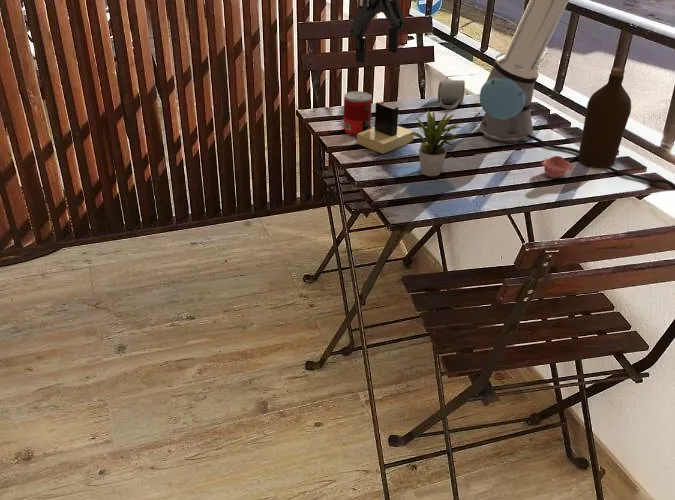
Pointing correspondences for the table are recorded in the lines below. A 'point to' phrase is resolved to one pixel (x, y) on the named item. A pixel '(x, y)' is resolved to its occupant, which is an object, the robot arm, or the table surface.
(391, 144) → the tan box
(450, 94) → the ceramic mug
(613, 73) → the olive oil
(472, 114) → the table surface
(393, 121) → the red-topped black block
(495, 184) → the table surface
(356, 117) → the canned food
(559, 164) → the flower
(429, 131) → the house plant
